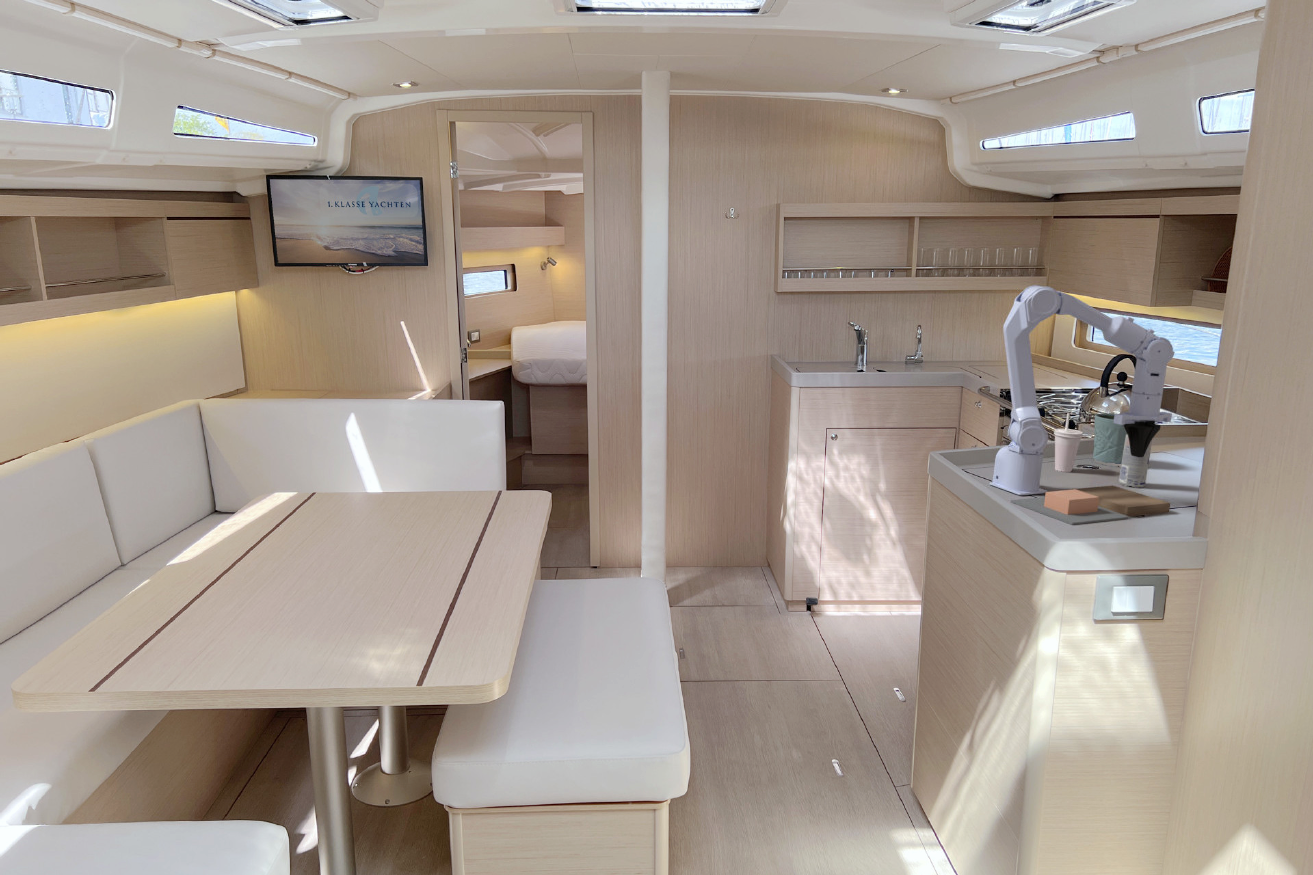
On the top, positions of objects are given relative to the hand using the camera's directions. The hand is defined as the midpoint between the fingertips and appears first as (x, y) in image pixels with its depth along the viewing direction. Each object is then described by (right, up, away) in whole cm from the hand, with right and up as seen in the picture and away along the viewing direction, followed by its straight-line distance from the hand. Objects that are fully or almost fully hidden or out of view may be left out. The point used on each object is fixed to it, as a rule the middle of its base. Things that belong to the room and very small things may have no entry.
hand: (1137, 456), depth 188 cm
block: (-18, -10, -9) cm, 23 cm away
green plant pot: (+13, -3, +36) cm, 38 cm away
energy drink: (+6, -7, +14) cm, 17 cm away
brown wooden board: (-6, -10, -3) cm, 12 cm away
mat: (-19, -11, -9) cm, 23 cm away
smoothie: (-4, -4, +26) cm, 27 cm away
